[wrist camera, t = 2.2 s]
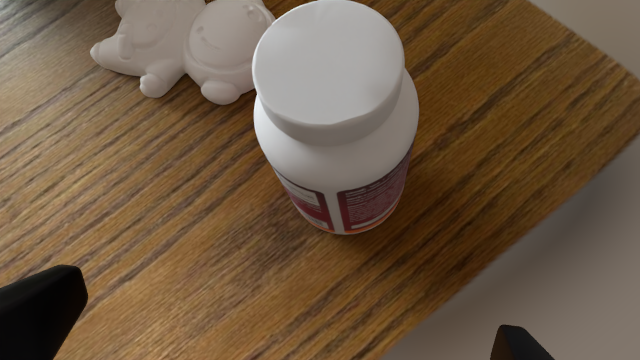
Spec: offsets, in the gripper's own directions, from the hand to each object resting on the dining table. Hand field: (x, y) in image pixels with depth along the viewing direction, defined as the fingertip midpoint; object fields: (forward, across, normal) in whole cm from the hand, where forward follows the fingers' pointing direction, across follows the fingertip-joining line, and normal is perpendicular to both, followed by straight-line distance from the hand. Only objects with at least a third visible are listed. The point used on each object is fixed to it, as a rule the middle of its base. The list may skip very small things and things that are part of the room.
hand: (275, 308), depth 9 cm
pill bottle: (+14, 0, +4) cm, 15 cm away
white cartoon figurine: (+20, +11, -2) cm, 23 cm away
